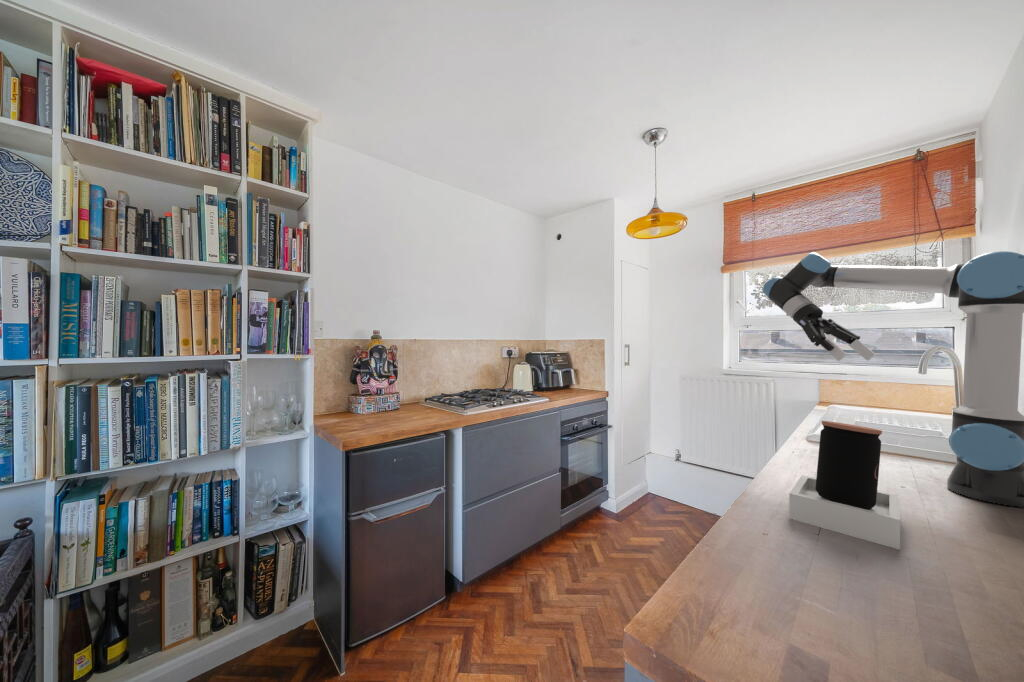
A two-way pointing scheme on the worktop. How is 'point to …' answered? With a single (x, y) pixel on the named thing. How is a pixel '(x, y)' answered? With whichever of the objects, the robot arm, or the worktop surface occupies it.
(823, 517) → the white square tray
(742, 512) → the worktop surface
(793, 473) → the worktop surface
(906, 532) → the worktop surface
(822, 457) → the coffee jar
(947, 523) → the worktop surface
